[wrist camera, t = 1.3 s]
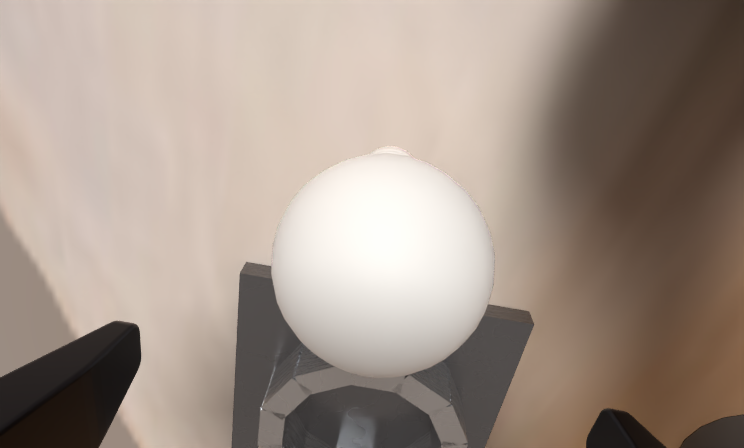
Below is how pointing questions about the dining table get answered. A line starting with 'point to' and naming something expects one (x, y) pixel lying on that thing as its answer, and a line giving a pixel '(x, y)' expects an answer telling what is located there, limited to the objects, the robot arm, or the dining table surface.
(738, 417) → the candle holder
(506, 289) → the dining table surface
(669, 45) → the dining table surface
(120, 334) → the robot arm
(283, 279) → the lightbulb
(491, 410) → the bulb socket
